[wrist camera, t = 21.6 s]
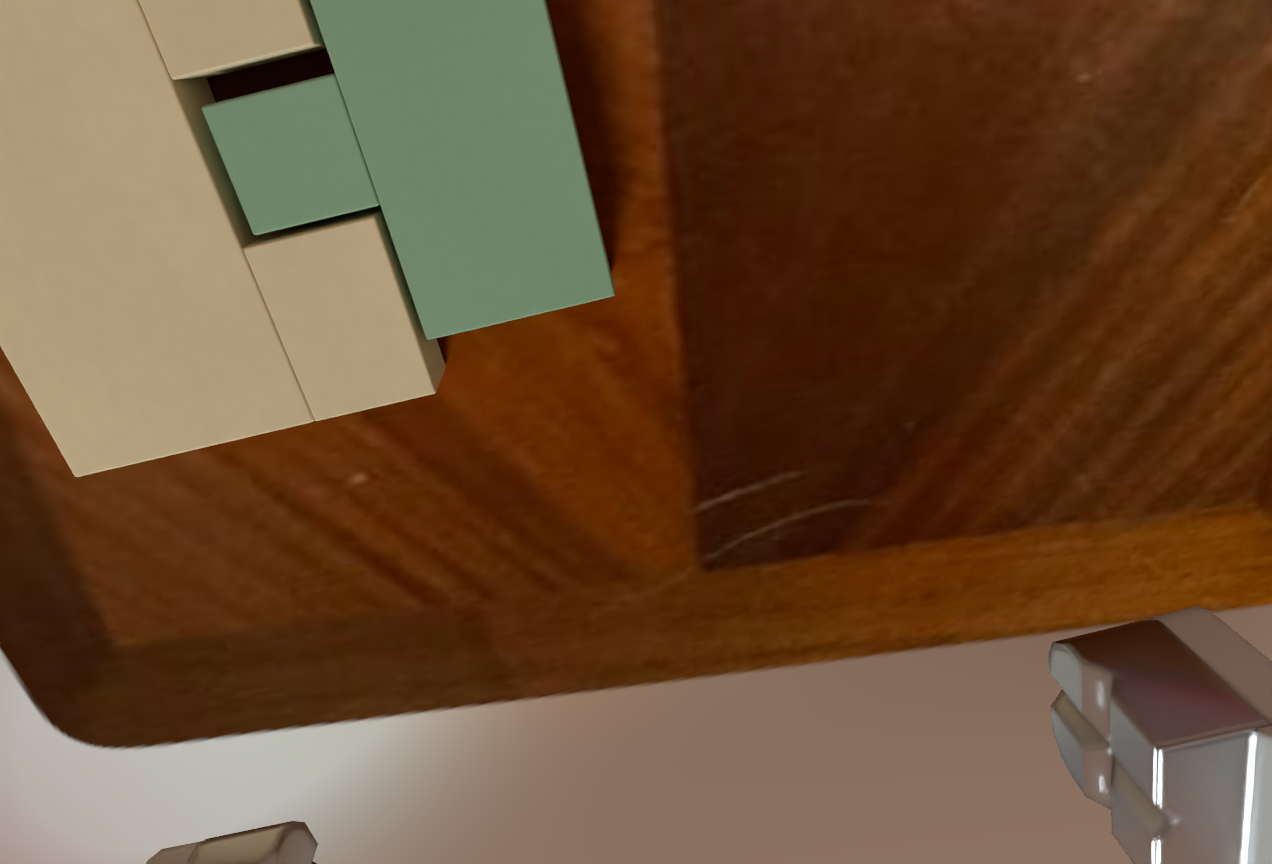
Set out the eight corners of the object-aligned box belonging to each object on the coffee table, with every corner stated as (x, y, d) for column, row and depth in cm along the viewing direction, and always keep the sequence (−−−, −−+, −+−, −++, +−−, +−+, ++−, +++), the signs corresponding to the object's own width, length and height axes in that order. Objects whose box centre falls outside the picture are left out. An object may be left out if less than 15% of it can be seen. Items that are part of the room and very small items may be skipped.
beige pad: (446, 367, 29) (436, 394, 27) (113, 445, 29) (74, 478, 27) (261, -185, 22) (225, -212, 20) (-168, -76, 23) (-250, -91, 20)
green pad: (612, 277, 28) (615, 296, 26) (329, 344, 28) (307, 369, 26) (512, -144, 23) (505, -165, 21) (170, -57, 23) (127, -69, 21)
